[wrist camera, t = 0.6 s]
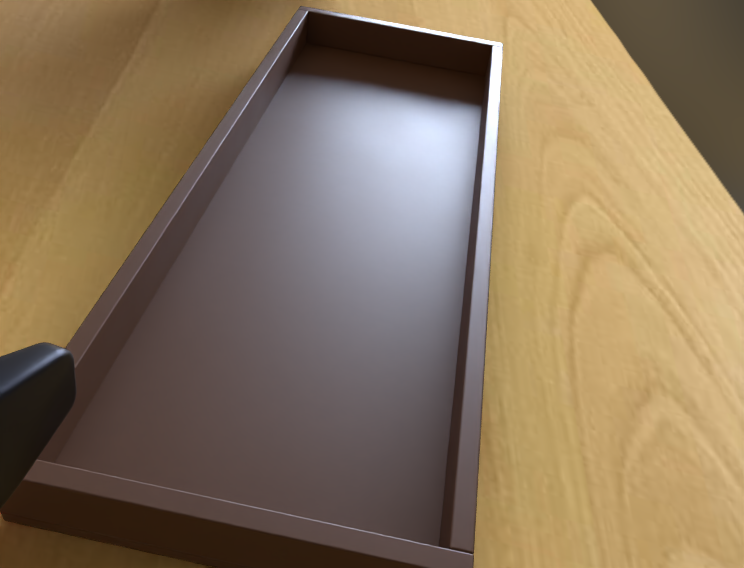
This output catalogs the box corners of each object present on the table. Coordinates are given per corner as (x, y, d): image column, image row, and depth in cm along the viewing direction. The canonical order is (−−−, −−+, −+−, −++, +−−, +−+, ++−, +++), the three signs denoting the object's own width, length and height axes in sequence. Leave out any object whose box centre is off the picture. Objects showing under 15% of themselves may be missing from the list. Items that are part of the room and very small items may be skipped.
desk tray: (452, 620, 23) (472, 578, 21) (3, 521, 24) (-21, 470, 22) (493, 81, 54) (503, 43, 52) (298, 44, 55) (300, 5, 53)
